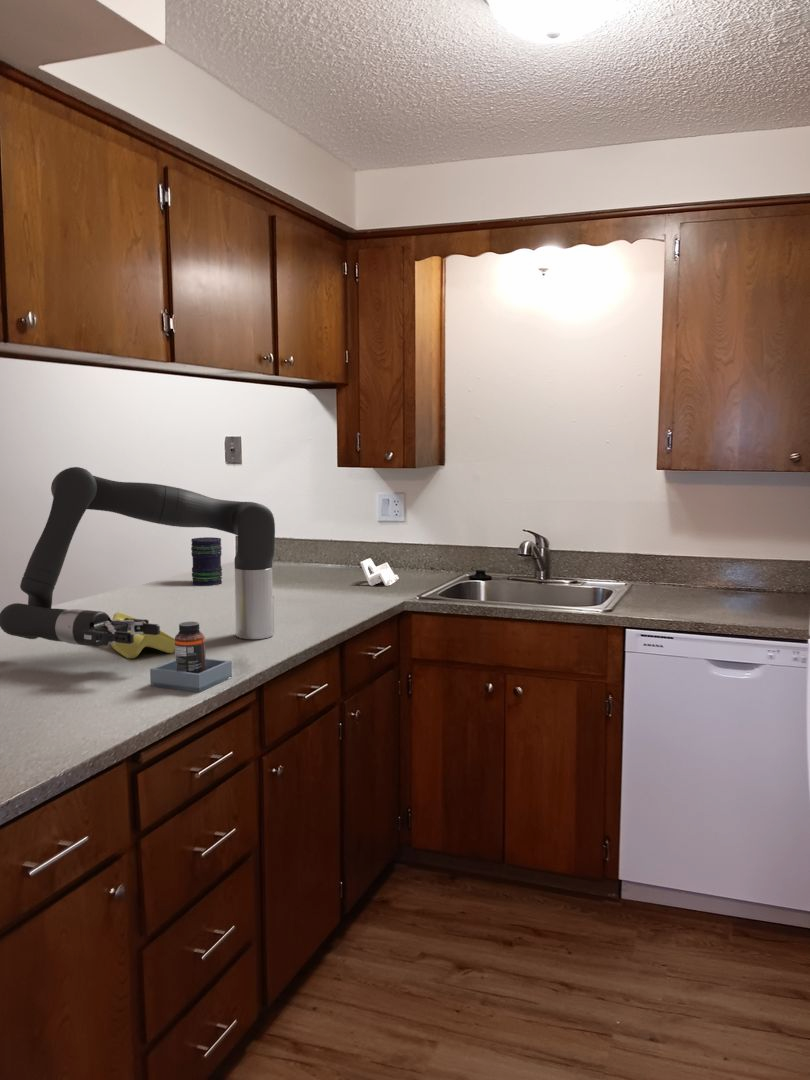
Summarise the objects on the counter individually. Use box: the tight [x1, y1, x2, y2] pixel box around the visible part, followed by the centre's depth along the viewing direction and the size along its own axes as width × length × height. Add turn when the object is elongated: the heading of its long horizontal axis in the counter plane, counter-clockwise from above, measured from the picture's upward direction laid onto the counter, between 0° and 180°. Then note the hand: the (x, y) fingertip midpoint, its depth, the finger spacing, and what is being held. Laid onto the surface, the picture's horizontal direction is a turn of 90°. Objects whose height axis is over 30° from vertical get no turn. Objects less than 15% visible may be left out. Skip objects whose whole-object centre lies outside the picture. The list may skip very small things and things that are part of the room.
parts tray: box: [149, 657, 233, 693], centre depth 186 cm, size 12×12×4 cm
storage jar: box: [191, 536, 223, 587], centre depth 303 cm, size 10×10×15 cm
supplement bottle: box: [174, 621, 206, 673], centre depth 185 cm, size 6×6×11 cm
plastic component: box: [110, 612, 175, 660], centre depth 214 cm, size 20×7×10 cm
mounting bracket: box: [360, 557, 399, 587], centre depth 305 cm, size 12×6×11 cm, turn 163°
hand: (146, 634), depth 189 cm, fingers open, 8 cm apart
